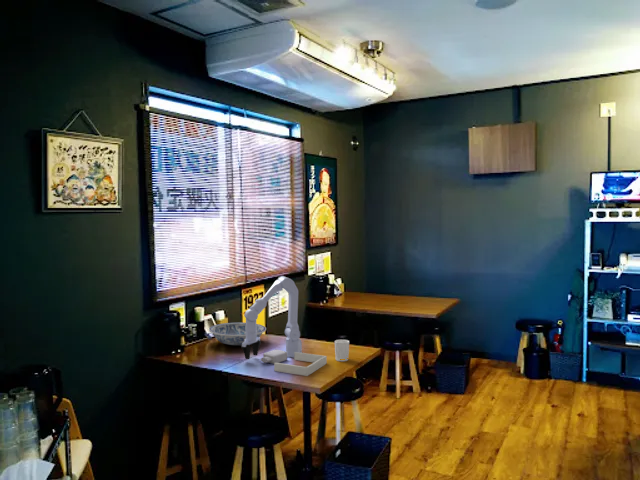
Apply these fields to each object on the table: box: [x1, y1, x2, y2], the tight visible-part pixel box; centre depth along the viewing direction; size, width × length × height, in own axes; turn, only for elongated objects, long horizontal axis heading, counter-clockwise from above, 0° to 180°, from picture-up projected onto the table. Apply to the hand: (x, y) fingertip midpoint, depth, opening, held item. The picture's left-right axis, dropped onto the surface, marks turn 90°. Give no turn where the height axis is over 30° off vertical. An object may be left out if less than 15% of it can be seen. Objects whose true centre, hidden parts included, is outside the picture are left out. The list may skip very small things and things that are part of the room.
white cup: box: [334, 339, 350, 362], centre depth 260 cm, size 8×8×10 cm
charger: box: [259, 349, 288, 364], centre depth 257 cm, size 5×9×15 cm
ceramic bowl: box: [208, 321, 267, 346], centre depth 294 cm, size 34×34×10 cm
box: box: [273, 352, 328, 377], centre depth 247 cm, size 22×18×4 cm
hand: (251, 357), depth 260 cm, fingers open, 7 cm apart
